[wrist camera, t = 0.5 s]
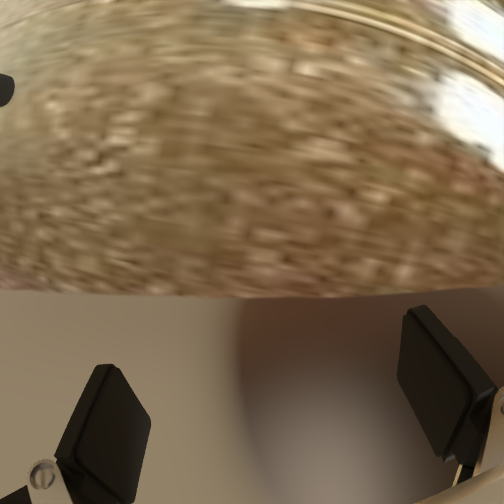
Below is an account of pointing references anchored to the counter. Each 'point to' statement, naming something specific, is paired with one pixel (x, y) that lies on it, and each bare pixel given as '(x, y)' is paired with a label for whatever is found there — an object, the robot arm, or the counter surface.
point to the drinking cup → (6, 89)
